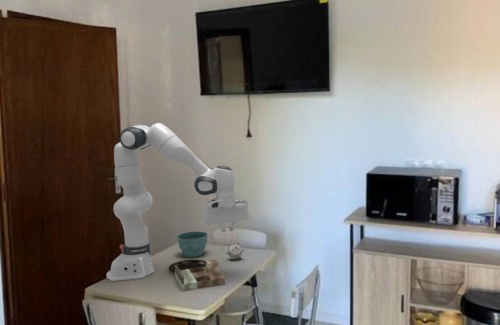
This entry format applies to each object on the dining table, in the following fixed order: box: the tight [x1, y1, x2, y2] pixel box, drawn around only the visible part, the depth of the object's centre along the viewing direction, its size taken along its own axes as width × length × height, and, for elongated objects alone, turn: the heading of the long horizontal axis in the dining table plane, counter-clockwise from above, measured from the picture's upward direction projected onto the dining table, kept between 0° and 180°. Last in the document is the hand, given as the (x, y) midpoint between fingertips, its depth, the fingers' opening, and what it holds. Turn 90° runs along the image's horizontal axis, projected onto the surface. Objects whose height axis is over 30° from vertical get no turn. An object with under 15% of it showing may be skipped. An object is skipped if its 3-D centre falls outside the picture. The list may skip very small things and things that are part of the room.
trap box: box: [173, 264, 226, 292], centre depth 228 cm, size 19×19×6 cm
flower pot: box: [176, 231, 208, 258], centre depth 268 cm, size 16×16×11 cm
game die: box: [225, 242, 245, 262], centre depth 256 cm, size 9×8×10 cm
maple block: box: [205, 259, 221, 275], centre depth 230 cm, size 5×5×5 cm
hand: (227, 231), depth 230 cm, fingers open, 3 cm apart
